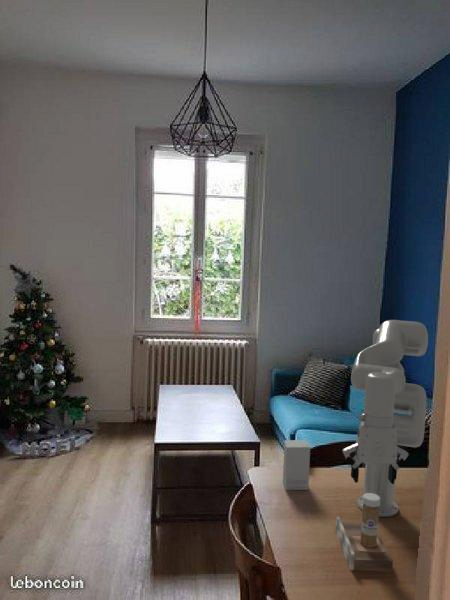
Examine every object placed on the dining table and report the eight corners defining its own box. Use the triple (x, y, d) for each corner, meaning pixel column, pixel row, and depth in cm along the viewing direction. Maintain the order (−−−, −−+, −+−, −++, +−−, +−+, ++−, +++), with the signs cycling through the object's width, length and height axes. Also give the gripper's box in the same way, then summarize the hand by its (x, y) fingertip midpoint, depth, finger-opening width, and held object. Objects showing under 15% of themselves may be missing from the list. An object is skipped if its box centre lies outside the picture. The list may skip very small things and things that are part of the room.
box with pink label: (335, 531, 151) (336, 516, 151) (372, 532, 151) (373, 518, 151) (350, 570, 133) (351, 553, 133) (391, 571, 134) (393, 555, 133)
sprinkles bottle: (363, 548, 138) (366, 500, 136) (357, 538, 142) (360, 492, 141) (379, 548, 138) (383, 500, 137) (373, 538, 143) (376, 492, 141)
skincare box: (305, 482, 182) (307, 439, 180) (308, 491, 175) (311, 447, 173) (281, 481, 181) (284, 439, 179) (284, 490, 175) (286, 446, 173)
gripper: (348, 423, 132) (344, 486, 135) (415, 426, 132) (410, 489, 135) (341, 413, 140) (337, 473, 142) (405, 415, 140) (400, 475, 142)
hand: (373, 480), depth 138 cm, fingers open, 9 cm apart
